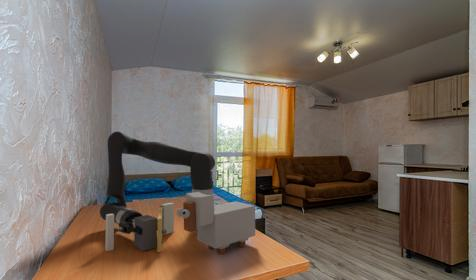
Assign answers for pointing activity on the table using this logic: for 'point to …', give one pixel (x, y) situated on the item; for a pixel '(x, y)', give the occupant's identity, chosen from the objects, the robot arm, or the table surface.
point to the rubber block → (146, 232)
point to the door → (160, 230)
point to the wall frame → (166, 224)
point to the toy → (218, 221)
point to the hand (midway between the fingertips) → (149, 230)
